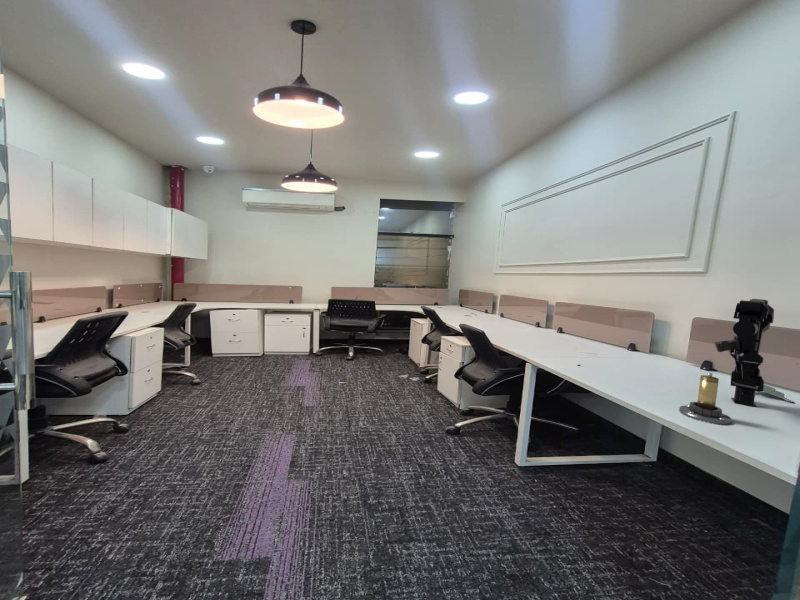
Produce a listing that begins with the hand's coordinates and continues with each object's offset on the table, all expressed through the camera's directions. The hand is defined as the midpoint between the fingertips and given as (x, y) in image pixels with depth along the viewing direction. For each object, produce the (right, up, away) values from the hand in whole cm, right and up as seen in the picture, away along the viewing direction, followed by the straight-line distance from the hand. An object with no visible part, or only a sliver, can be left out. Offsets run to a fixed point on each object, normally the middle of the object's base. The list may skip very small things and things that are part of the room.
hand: (741, 376), depth 130 cm
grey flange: (-19, -13, -6) cm, 23 cm away
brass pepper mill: (-19, -12, -6) cm, 23 cm away
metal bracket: (+32, -13, +22) cm, 41 cm away
